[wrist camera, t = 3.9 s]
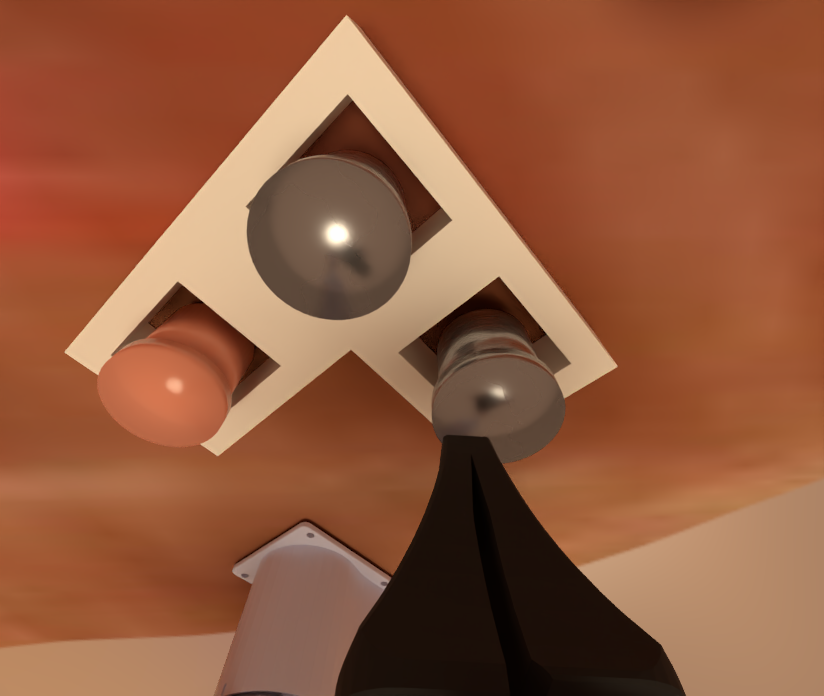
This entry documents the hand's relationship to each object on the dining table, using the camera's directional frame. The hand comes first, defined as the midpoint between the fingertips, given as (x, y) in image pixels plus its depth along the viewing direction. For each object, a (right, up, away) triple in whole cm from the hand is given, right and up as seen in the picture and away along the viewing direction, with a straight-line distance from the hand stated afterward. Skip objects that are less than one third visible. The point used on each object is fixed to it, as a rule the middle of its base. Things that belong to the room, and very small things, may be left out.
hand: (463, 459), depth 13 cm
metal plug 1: (-4, +9, +3) cm, 10 cm away
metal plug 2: (+2, +3, +6) cm, 7 cm away
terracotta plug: (-11, +4, +7) cm, 13 cm away
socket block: (-5, +4, +8) cm, 10 cm away
